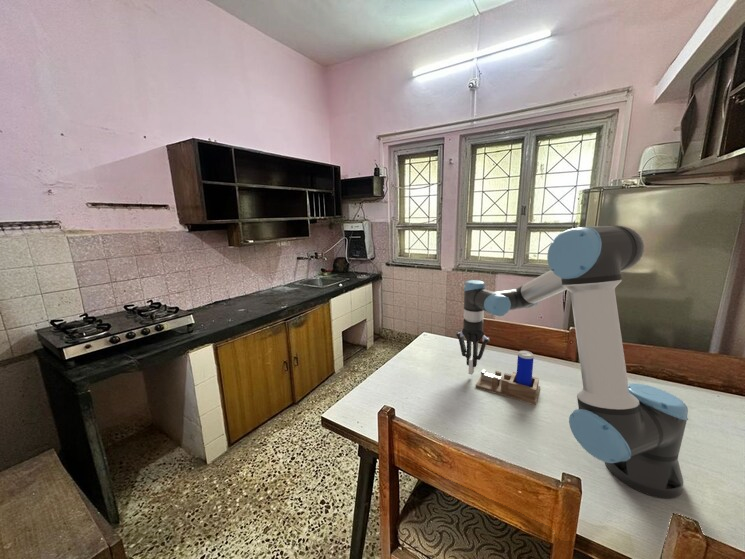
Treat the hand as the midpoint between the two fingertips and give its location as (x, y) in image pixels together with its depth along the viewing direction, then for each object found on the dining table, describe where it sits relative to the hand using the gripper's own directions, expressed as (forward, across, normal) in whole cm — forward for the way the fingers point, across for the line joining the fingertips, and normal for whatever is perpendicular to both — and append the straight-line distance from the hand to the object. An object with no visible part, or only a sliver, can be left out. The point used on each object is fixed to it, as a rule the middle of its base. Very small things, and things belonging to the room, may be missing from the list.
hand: (471, 372), depth 122 cm
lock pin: (+1, -8, 0) cm, 8 cm away
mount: (+2, -14, 0) cm, 14 cm away
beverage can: (+2, -20, 0) cm, 20 cm away
